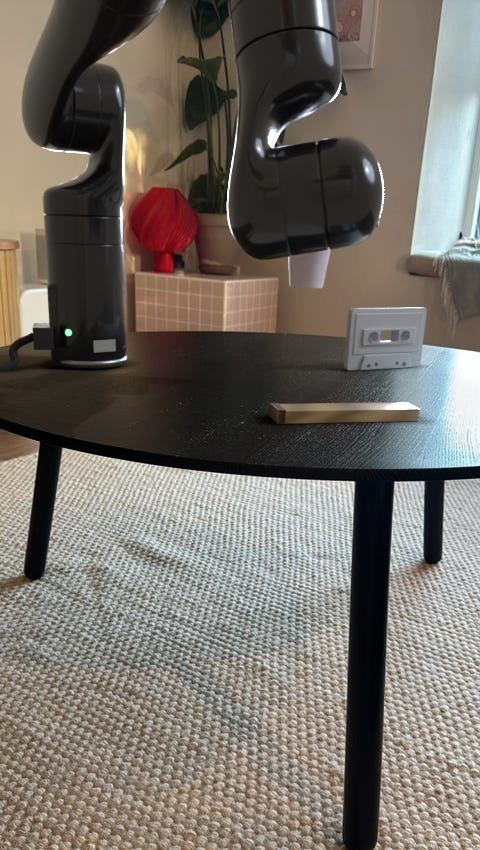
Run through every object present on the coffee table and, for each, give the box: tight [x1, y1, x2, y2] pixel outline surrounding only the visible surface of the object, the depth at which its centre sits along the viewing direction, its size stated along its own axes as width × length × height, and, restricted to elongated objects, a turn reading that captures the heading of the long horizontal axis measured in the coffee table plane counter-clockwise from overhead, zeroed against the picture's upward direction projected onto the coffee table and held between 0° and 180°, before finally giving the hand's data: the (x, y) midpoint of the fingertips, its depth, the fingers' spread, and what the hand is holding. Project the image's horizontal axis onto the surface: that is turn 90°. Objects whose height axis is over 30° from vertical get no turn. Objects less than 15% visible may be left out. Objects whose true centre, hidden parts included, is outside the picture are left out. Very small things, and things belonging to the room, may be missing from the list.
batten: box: [269, 401, 421, 425], centre depth 72 cm, size 14×3×1 cm, turn 102°
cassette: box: [343, 306, 428, 371], centre depth 98 cm, size 12×2×8 cm, turn 116°
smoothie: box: [287, 247, 332, 289], centre depth 80 cm, size 6×6×14 cm
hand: (310, 214), depth 82 cm, fingers closed on smoothie, 6 cm apart
